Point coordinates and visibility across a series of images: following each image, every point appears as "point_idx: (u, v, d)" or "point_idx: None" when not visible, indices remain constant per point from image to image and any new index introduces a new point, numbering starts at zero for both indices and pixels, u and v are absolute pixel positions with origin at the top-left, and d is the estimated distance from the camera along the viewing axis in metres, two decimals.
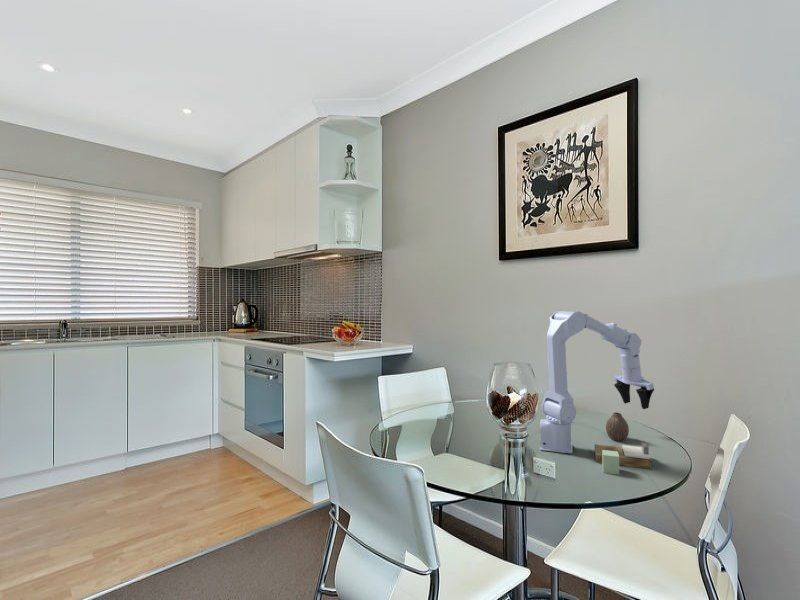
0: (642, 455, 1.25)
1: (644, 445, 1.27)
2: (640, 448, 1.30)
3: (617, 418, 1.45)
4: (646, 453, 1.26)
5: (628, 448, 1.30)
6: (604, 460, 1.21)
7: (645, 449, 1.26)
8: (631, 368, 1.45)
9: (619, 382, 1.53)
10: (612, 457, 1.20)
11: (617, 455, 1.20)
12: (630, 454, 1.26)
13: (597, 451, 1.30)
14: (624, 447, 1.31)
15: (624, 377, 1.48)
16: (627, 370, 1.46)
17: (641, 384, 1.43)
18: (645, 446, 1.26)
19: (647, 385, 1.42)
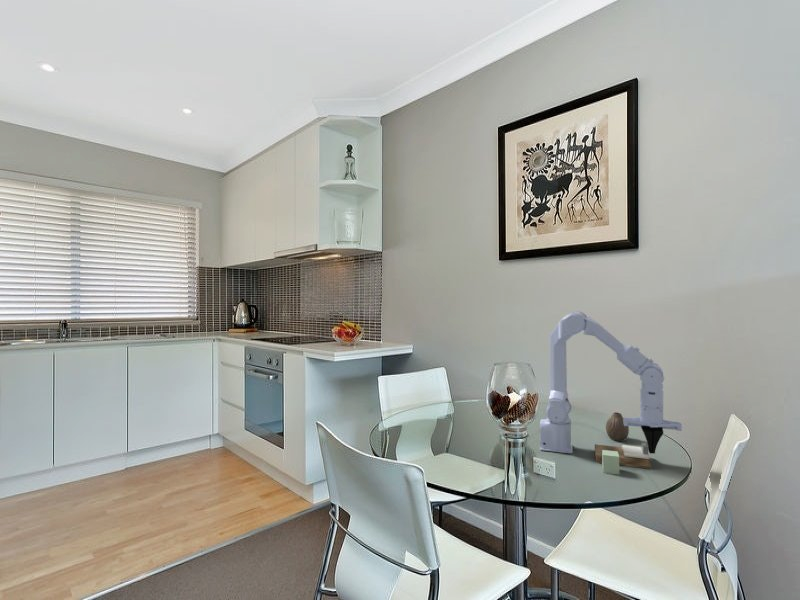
0: (642, 455, 1.25)
1: (644, 445, 1.27)
2: (640, 448, 1.30)
3: (617, 418, 1.45)
4: (646, 453, 1.26)
5: (628, 448, 1.30)
6: (604, 460, 1.21)
7: (644, 449, 1.26)
8: (644, 405, 1.25)
9: None
10: (612, 457, 1.20)
11: (617, 455, 1.20)
12: (630, 454, 1.26)
13: (597, 451, 1.30)
14: (624, 447, 1.31)
15: None
16: None
17: None
18: (645, 446, 1.26)
19: None
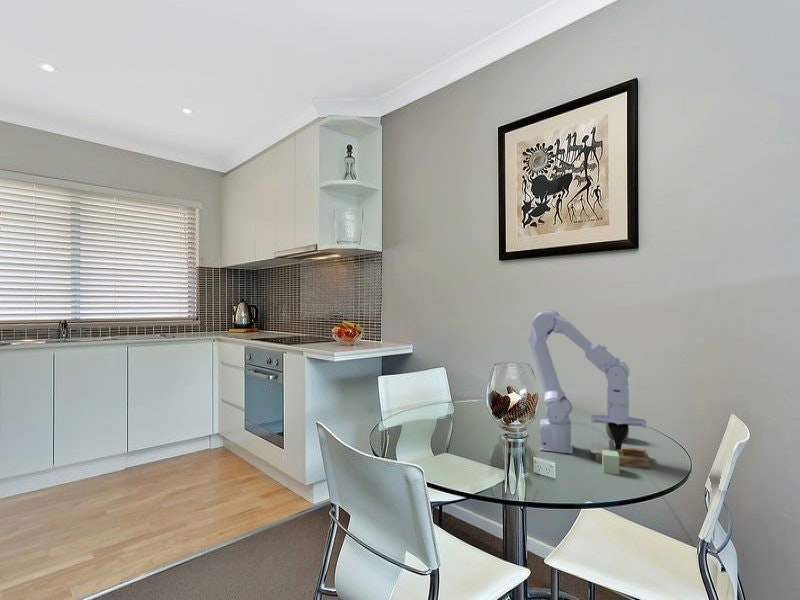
0: None
1: (610, 441, 1.30)
2: (607, 445, 1.33)
3: None
4: (612, 449, 1.29)
5: (595, 444, 1.34)
6: (604, 460, 1.21)
7: (610, 446, 1.29)
8: (609, 403, 1.29)
9: None
10: (612, 457, 1.20)
11: (617, 455, 1.20)
12: (596, 450, 1.29)
13: None
14: (592, 444, 1.34)
15: None
16: None
17: None
18: (611, 443, 1.30)
19: None
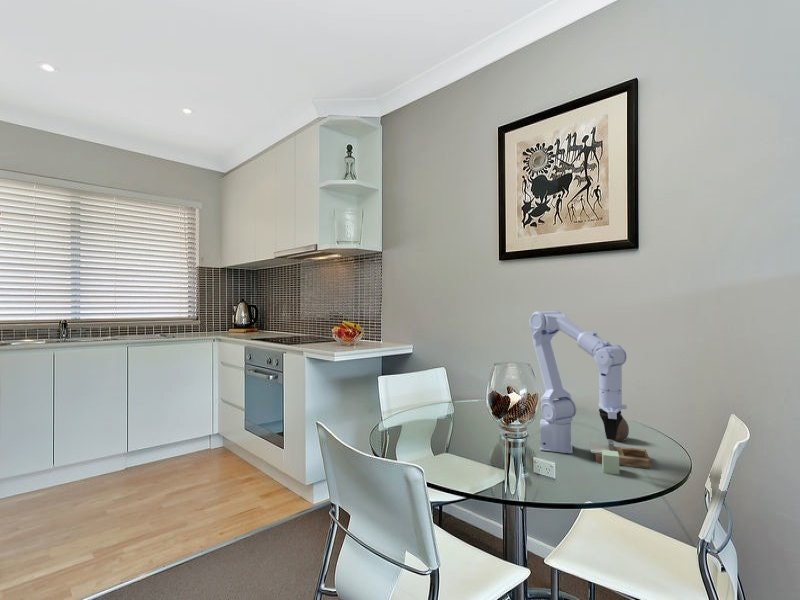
0: None
1: (610, 441, 1.30)
2: (607, 444, 1.33)
3: None
4: (611, 449, 1.29)
5: (595, 444, 1.34)
6: (604, 460, 1.21)
7: (610, 446, 1.29)
8: (599, 387, 1.22)
9: None
10: (612, 457, 1.20)
11: (617, 455, 1.20)
12: (596, 450, 1.29)
13: None
14: (591, 444, 1.34)
15: (599, 398, 1.23)
16: (600, 390, 1.22)
17: (605, 410, 1.18)
18: (611, 443, 1.30)
19: (608, 412, 1.16)
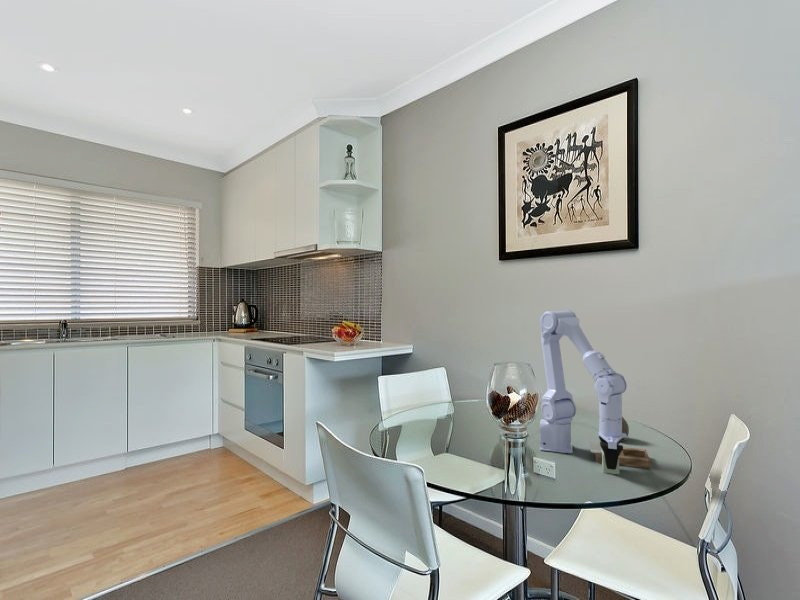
0: None
1: None
2: None
3: None
4: None
5: (595, 444, 1.34)
6: (604, 460, 1.21)
7: None
8: (599, 415, 1.23)
9: None
10: None
11: None
12: (596, 450, 1.29)
13: None
14: (591, 444, 1.34)
15: None
16: (600, 419, 1.22)
17: (605, 439, 1.18)
18: None
19: (608, 442, 1.16)
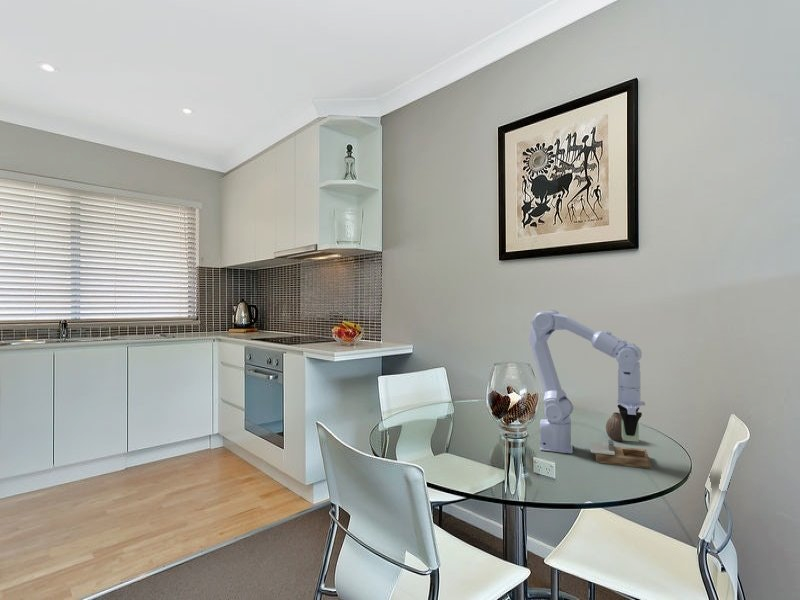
0: (607, 451, 1.28)
1: (610, 441, 1.30)
2: (607, 444, 1.33)
3: (617, 418, 1.45)
4: (611, 449, 1.29)
5: (595, 444, 1.34)
6: (624, 428, 1.25)
7: (610, 446, 1.29)
8: (620, 385, 1.26)
9: None
10: None
11: None
12: (596, 450, 1.29)
13: None
14: (591, 444, 1.34)
15: (618, 395, 1.28)
16: (619, 387, 1.26)
17: (625, 406, 1.22)
18: (611, 443, 1.30)
19: (627, 408, 1.21)
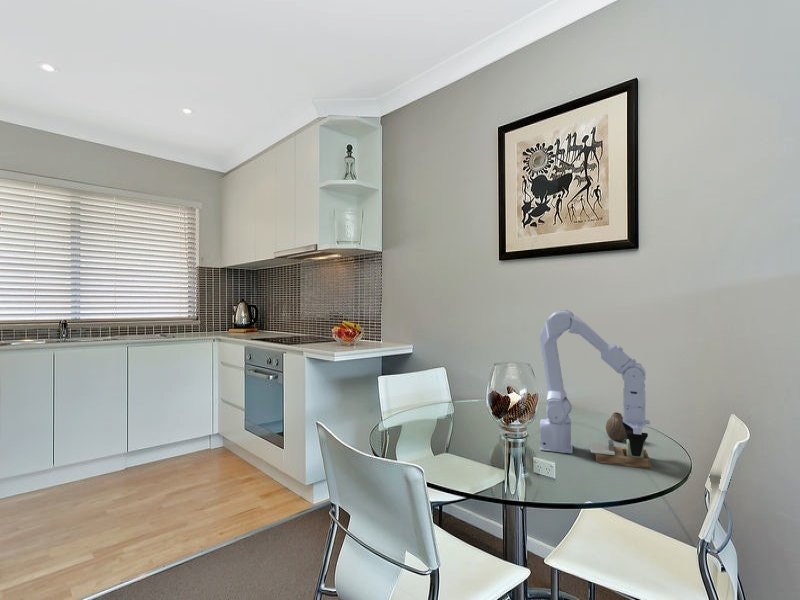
0: (607, 451, 1.28)
1: (610, 441, 1.30)
2: (607, 444, 1.33)
3: (617, 418, 1.45)
4: (611, 449, 1.29)
5: (595, 444, 1.34)
6: (629, 449, 1.27)
7: (610, 446, 1.29)
8: (626, 405, 1.27)
9: None
10: None
11: None
12: (596, 450, 1.29)
13: None
14: (591, 444, 1.34)
15: None
16: (624, 406, 1.28)
17: (630, 425, 1.24)
18: (611, 443, 1.30)
19: (633, 428, 1.22)
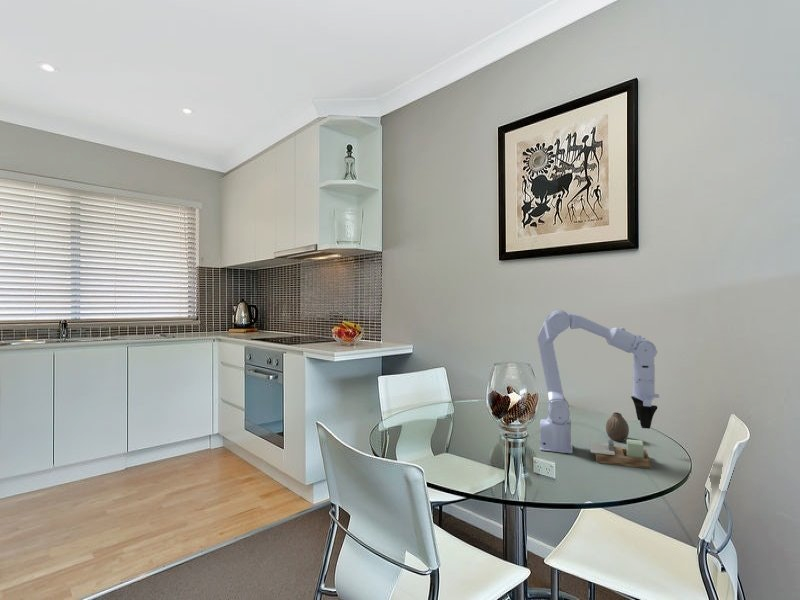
0: (607, 451, 1.28)
1: (610, 441, 1.30)
2: (607, 444, 1.33)
3: (617, 418, 1.45)
4: (611, 449, 1.29)
5: (595, 444, 1.34)
6: (629, 449, 1.27)
7: (610, 446, 1.29)
8: (637, 379, 1.29)
9: None
10: (637, 446, 1.26)
11: (641, 444, 1.26)
12: (596, 450, 1.29)
13: None
14: (591, 444, 1.34)
15: (633, 388, 1.32)
16: (634, 380, 1.31)
17: (640, 398, 1.27)
18: (611, 443, 1.30)
19: (643, 400, 1.25)
